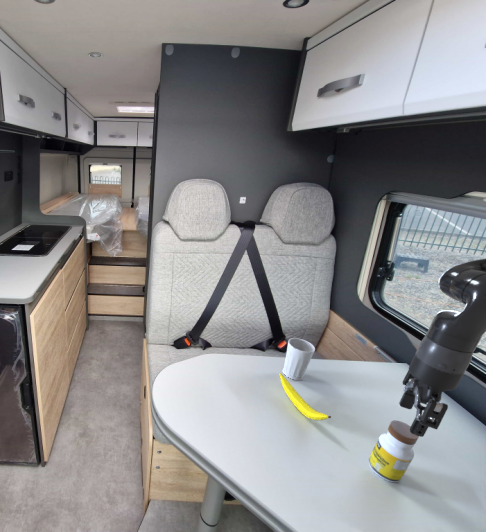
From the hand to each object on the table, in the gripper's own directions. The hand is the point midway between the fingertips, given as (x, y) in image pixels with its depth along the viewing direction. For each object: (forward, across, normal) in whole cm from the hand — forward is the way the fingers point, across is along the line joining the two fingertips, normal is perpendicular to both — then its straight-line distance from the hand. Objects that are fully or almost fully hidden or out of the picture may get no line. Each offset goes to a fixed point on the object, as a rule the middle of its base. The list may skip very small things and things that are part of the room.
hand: (409, 419), depth 69 cm
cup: (+16, +27, +21) cm, 38 cm away
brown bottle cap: (+5, 0, 0) cm, 5 cm away
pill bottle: (+17, 0, 0) cm, 17 cm away
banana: (+16, +11, +19) cm, 28 cm away
